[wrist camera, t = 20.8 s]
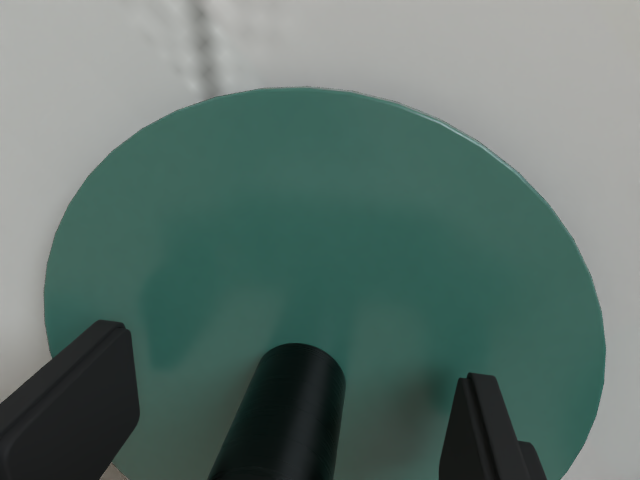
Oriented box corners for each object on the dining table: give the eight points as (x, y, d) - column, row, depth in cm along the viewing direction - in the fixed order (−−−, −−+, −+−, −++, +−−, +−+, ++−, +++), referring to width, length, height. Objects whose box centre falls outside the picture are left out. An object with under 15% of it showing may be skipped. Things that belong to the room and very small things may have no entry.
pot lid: (316, -74, 9) (178, -332, 3) (702, 396, 11) (1020, 731, 6) (-12, 318, 14) (-289, 491, 8) (304, 583, 16) (259, 857, 11)
